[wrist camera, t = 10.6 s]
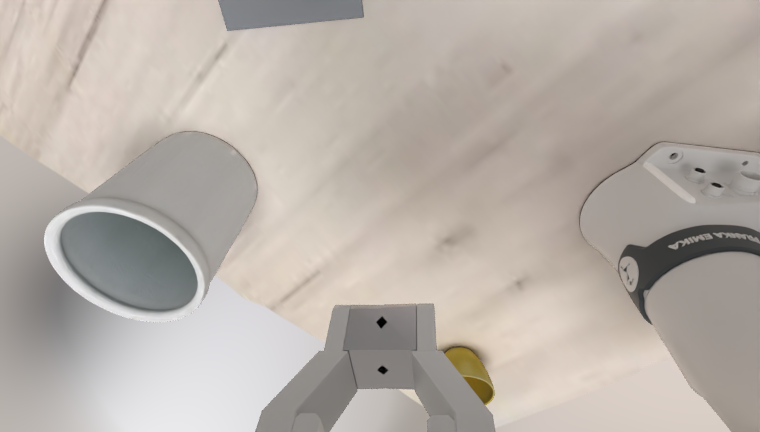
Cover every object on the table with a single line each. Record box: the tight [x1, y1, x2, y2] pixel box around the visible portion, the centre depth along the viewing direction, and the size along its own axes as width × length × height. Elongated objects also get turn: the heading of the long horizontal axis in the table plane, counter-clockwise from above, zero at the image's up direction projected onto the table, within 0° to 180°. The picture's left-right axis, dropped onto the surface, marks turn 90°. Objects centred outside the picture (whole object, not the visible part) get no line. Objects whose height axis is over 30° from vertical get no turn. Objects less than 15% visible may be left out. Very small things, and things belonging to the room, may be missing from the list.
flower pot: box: [445, 347, 495, 405], centre depth 67 cm, size 10×10×7 cm
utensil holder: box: [44, 131, 257, 322], centre depth 45 cm, size 15×15×18 cm
